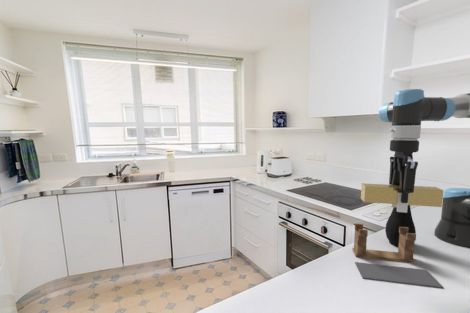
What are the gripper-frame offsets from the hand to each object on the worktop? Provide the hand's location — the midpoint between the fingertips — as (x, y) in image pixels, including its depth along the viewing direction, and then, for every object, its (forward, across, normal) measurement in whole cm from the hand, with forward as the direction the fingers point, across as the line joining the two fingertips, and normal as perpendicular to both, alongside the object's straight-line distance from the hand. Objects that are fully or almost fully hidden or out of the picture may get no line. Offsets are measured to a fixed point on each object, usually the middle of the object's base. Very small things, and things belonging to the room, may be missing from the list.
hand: (398, 209), depth 76 cm
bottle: (+23, -23, +11) cm, 34 cm away
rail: (-2, 0, 0) cm, 2 cm away
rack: (+23, -11, 0) cm, 25 cm away
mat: (+23, +1, 0) cm, 23 cm away
